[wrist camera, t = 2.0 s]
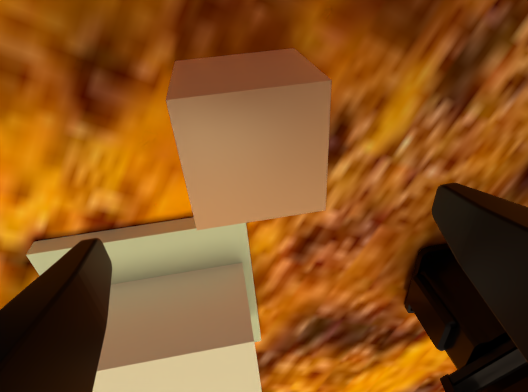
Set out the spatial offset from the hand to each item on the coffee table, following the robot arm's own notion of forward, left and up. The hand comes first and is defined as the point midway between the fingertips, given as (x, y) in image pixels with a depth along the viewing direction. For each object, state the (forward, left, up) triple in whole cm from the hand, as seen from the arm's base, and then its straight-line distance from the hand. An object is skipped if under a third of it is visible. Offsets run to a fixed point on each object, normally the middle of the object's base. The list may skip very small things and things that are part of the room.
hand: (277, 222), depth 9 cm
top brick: (0, 0, -8) cm, 8 cm away
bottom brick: (+6, +11, -7) cm, 14 cm away
